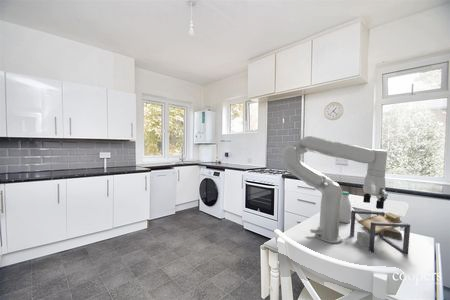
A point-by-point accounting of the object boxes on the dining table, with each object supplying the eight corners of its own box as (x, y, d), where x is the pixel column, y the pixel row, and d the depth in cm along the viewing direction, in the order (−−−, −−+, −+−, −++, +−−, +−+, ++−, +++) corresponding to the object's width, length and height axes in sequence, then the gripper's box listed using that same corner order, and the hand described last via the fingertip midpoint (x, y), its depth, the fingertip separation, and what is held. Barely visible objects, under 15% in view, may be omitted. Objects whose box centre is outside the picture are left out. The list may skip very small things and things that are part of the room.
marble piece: (402, 240, 110) (403, 233, 110) (372, 236, 113) (373, 229, 113) (385, 227, 126) (386, 221, 126) (359, 224, 129) (360, 218, 129)
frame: (370, 252, 96) (372, 223, 95) (350, 235, 113) (351, 210, 113) (408, 254, 95) (410, 224, 94) (381, 236, 112) (383, 211, 112)
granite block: (372, 246, 102) (362, 245, 102) (366, 241, 107) (356, 240, 107) (373, 236, 102) (363, 236, 102) (366, 232, 107) (357, 231, 107)
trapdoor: (374, 233, 98) (372, 228, 98) (357, 222, 111) (356, 217, 110) (406, 224, 97) (405, 219, 97) (386, 215, 110) (384, 210, 110)
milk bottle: (351, 224, 129) (353, 194, 128) (337, 222, 132) (339, 192, 131) (348, 219, 136) (350, 191, 135) (336, 218, 139) (337, 190, 138)
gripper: (358, 170, 111) (355, 199, 112) (380, 175, 94) (377, 210, 95) (371, 171, 111) (368, 200, 112) (396, 176, 94) (393, 211, 95)
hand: (372, 205), depth 104 cm, fingers open, 9 cm apart
